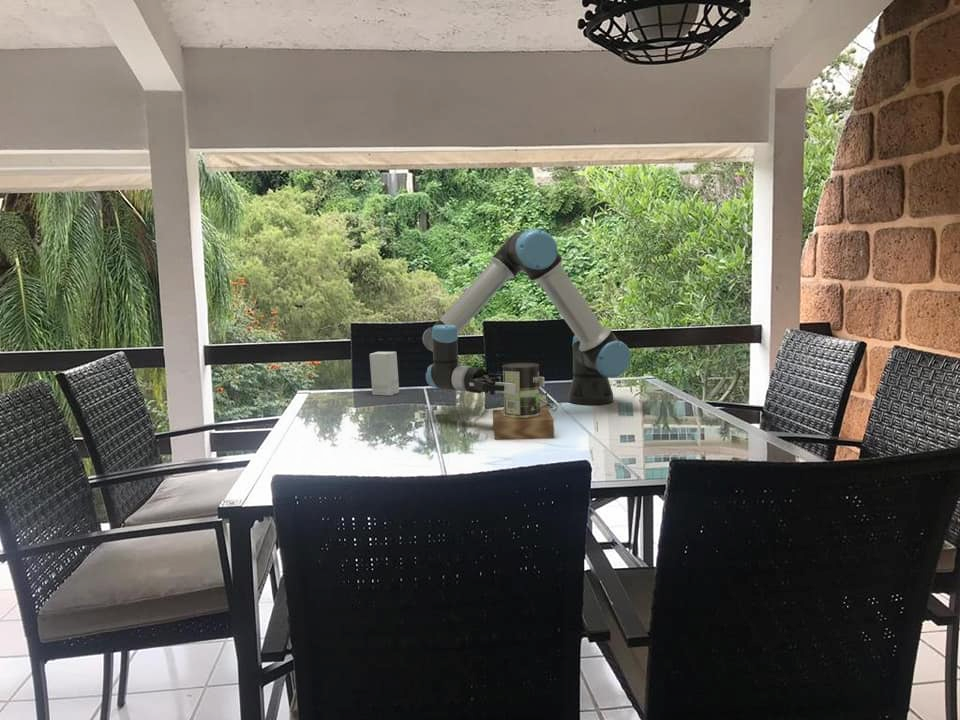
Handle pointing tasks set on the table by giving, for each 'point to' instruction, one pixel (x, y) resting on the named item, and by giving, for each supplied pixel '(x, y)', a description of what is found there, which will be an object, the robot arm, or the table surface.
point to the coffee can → (522, 390)
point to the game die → (544, 401)
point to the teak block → (523, 426)
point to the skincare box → (384, 373)
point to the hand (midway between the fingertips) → (529, 385)
